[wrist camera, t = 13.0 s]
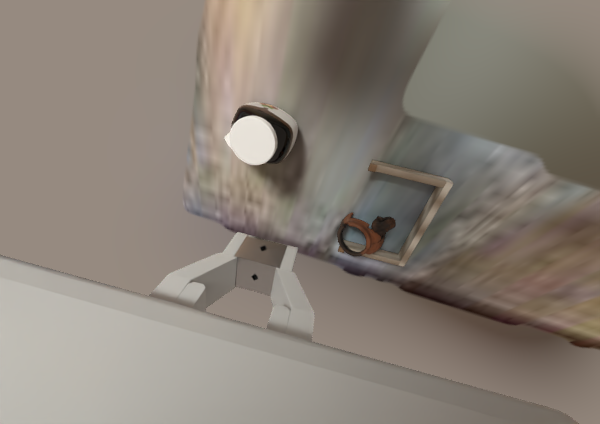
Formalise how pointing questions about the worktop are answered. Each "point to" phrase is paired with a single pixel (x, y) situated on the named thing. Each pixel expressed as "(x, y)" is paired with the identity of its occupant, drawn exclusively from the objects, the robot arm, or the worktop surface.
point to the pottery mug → (367, 233)
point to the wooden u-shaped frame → (424, 219)
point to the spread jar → (262, 134)
